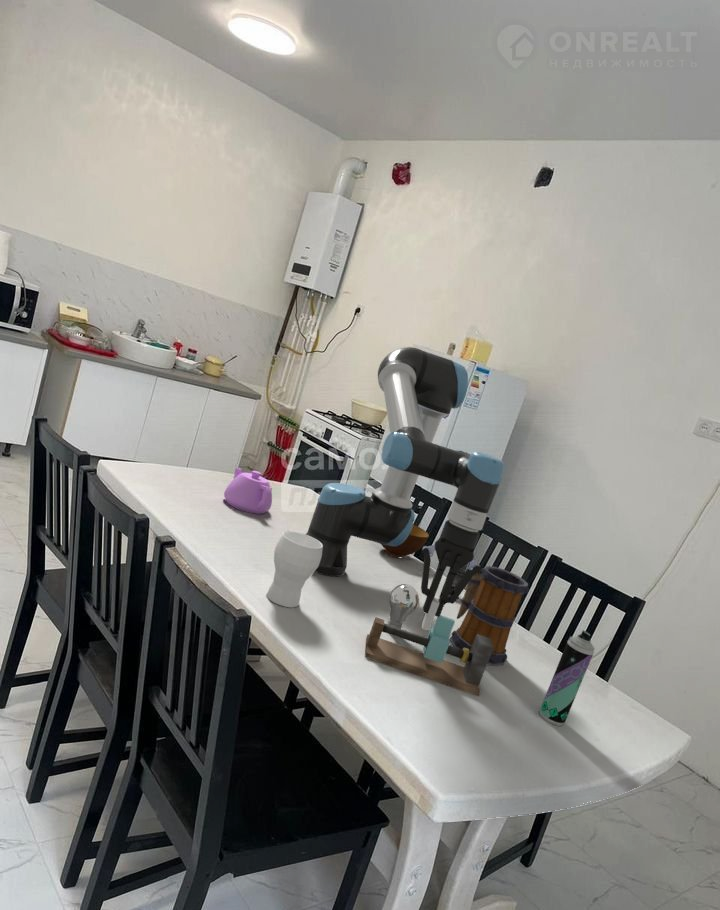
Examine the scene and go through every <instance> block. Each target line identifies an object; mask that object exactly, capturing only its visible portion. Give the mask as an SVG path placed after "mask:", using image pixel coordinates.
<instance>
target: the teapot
mask: <svg viewBox="0 0 720 910" xmlns="http://www.w3.org/2000/svg"><path fill="white" fill-rule="evenodd" d="M272 491H273V488H272V487H271V485H270V482H269V480H268V479H266V478H265V477H263V476H262V472H260V471H257V470H251V472H242V468H240V467H235V472H234V475H233V479H232V481H230V482H229V484H228V485H227V486H226V488H225V490H224V494H223V496H224V499H225V501H226V504H228V505H229V506H231V507H233V508H235V509H237V510H240V511H242V512H246V513H250V514H255V515H256V514H257V515H259V514H260V515H261V514H265V513H266V512H268V511H269V510H270V509H271V508H272V503H273V493H272Z"/></svg>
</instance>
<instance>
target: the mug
mask: <svg viewBox="0 0 720 910" xmlns="http://www.w3.org/2000/svg"><path fill="white" fill-rule="evenodd" d="M529 591H530V587H529V583H528V582H527V581H526V580H525V579H524V578H522V577H521V576H519V575H517V574H515V573H513V572H511V571H508V570H506V569H505V568H504V569H503V568H500V567H496V566H491V565H485V567H483V568H481V570H480V572H478V573H476V574H475V575H474V576H473V577H472V578H471V579H470V581H469V582H468V584H467V585H466V587H465V591H464V595H463V597H462V598H461V601H460V607H459V609H458V612H457V615H456V619H457V620H458V619H461V618H462V617H463V616H464V615H465V617H464V618H463V620H462V622H461V625H459V627H458V628H457V629H456V630H453V631H451V636H449V640H450V644H451V646H453V647H455V648H458V649H461V650H462V649H463V648H467V649H469V652H470V650H471V648H472V645H473V643H474V640H475V638H476V635H477V634H479V635H482V636H485V637H487V638H490V640H491V642H492V645H493V651H492V653H491V656H490V658H489V661H488V663H487V666H491V667H501V666H504V664H505V663H506V661H507V659H508V655H507V654H506V653H507V649H506V646H507V643H508V639H509V636H510V632H511V629H512V627H513V624H514V622H515V620H516V617H515V615H516V612H517V610H518V607H519V605H520V602H521V600H522V597H523V595H525V594H527V593H529Z"/></svg>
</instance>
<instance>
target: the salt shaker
mask: <svg viewBox="0 0 720 910" xmlns="http://www.w3.org/2000/svg"><path fill="white" fill-rule="evenodd" d="M467 569H468V564H466V565H465V566H463V567H462V568H460V569H458V572H457V574H456V576H455V579H454V581H453V584H452V587H451V589H450V592H449V595H450V593H451V592H452V590H453V589H454V587H455V586H456V584H457V583H458V582H459V580H460V579H461V577H462V576H463V574H464V573H465V571H466V570H467ZM457 600H460V596H459V597H458V598H457Z"/></svg>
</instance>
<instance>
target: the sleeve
mask: <svg viewBox="0 0 720 910" xmlns="http://www.w3.org/2000/svg"><path fill="white" fill-rule="evenodd" d="M434 622H435V623H434V625H433V628H432V627H430V630H429V631H428V634H427V637H426V638H429V639H430V641H429V643H428V646H427V647H426V646H423V647H422V651H423V652H422V653H424V657H425V658H428V659H430V660H433V661H436V662H439V663H442V662H443V660H444V659H445V657H446V652H447V649H448V646H449V645H450V644H451V642H450V640H449V639H450V637H451V636H450V635H451V634H452V632H453V631H452V630H453V628H454V625H455V622H456V620H455V619H453V618H451V617H447V616H444V615H440V616H439V617H437V616H436V620H435V621H434Z"/></svg>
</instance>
